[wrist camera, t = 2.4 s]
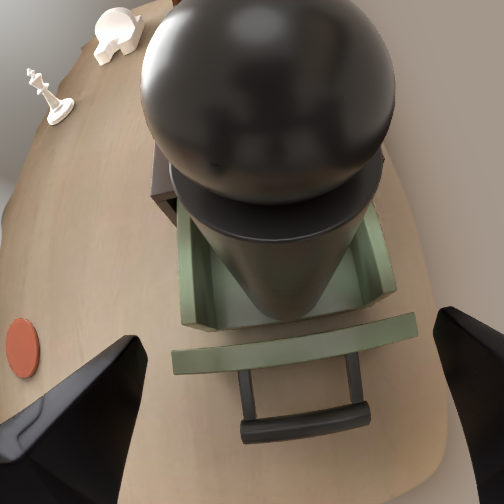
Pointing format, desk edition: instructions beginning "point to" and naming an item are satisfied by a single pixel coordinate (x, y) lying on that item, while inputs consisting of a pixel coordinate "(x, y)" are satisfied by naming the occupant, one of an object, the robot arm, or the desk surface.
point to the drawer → (289, 349)
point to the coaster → (22, 348)
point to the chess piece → (51, 99)
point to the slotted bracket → (117, 33)
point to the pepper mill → (271, 134)
